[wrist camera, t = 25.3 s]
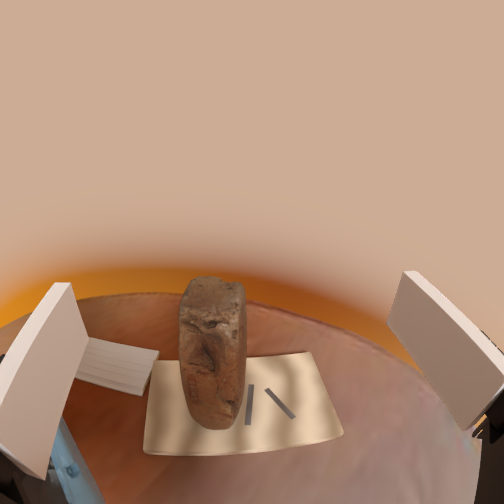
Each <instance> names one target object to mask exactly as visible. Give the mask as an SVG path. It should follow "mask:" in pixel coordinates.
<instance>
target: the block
mask: <svg viewBox="0 0 504 504" xmlns="http://www.w3.org/2000/svg"><path fill="white" fill-rule="evenodd" d="M178 319H179V332H180V333H179V347H178V350H179V364H180V374H181V381H182V387H183V391H184V395H185V400H186V403H187V407H188V410H189V413H190V415H191V417H192V418H193V419H194V420H195V421H196V422H197V423H199V424H200V425H201V426H202V427H204V428H206V429H211V430H225V429H229V428H230V427H231V426H232V425H233V423H234V421H235V419H236V417H237V416H238V413H239V410H240V407H241V404H242V400H243V394H244V387H245V374H246V356H247V314H246V299H245V290H244V287H243V286H242V284H241V283H239V282H232V283H228V282H223V281H222V279H220V278H217V277H211V276H207V277H206V276H205V277H197V278H195V279H193V280H191V281H190V283H189V284H188V286H187V289H186V290H185V292H184V294H183V296H182V299H181V302H180V306H179V314H178Z"/></svg>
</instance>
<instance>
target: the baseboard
mask: <svg viewBox="0 0 504 504" xmlns="http://www.w3.org/2000/svg"><path fill="white" fill-rule="evenodd" d="M159 355H160V352H159V351H156V350H150V349H145V348H139V347H134V346H129V345H123V344H119V343H114V342H109V341H105V340H100V339H96V338H92V337H89V341H88V344H87V346H86V348H85V351H84V353H83V356H82V358H81V361H80V364H79V366H78V369H77V372H76V374H75V377H74V378H77V379H80V380H83V381H86V382H89V383H92V384H95V385H99V386H102V387H106V388H109V389H113V390H117V391H121V392H124V393H129V394H133V395H137V396H141V397H142V396H143V394H144V391H145V389H146V386H147V384H148V382H149V379H150V377H151V374H152V367H153V360H158V358H159Z"/></svg>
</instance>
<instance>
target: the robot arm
mask: <svg viewBox="0 0 504 504" xmlns="http://www.w3.org/2000/svg"><path fill="white" fill-rule="evenodd" d="M386 324H387V325H388V327H389V328H390V329H391V330H392V332H393V333H394V334H395V336H396V337H397V338H398V340H399V341H400V342H401V344H402V345H403V346H404V348H405V349H406V350H407V352H408V353H409V355H410V356H411V357H412V359H413V360H414V361H415V363H416V364H417V365H418V367H419V368H420V370H421V371H422V372H423V374H424V375H425V377H426V378H427V379H428V381H429V382H430V384H431V385H432V387H433V388H434V389H435V391H436V392H437V394H438V395H439V397H440V398H441V400H442V401H443V403H444V404H445V406H446V407H447V409H448V410H449V412H450V413H451V415H452V416H453V418H454V419H455V421H456V422H457V424H458V425H459V427H460V428H461V430H462V432H464V431H465V430H467V429H469V428H470V427H472V426H473V425H475V424H476V423H477V422H478V421H479V419H480V418H481V417H482V416H483V415H484V414H486V416H487V418H486V419H485V420H484V421H483V422H482V423H481V424H480V425H479V426H478V427H477V428H476V429H475V431H474V432H473V434H472V437H473V438H474V437H475V436H476V435H477V434H478V433H479V432H480V431H481V430H482V429H483V431H482V432H481V433H480V434H479V435H478V437H477V438H479V439H482V450H481V461H480V470H479V478H478V485H477V491H476V496H475V501H474V504H504V354H503V353H502V351H501V350H500V349H499V348H496V345H495V344H494V343H493V342H492V341H490V339H489V338H488V337H487V336H486V334H484V332H483V331H481V330H479V329H478V328H477V327H476V326H475V325H474V324H473V323H472V322H471V321H470V320H469V319H468V318H467V317H466V316H465V315H464V314H463V313H462V312H461V311H460V310H459V309H458V308H457V307H455V305H453V304H452V303H451V302H450V301H449V300H448V299H447V298H446V297H445V296H444V295H443V294H442V293H441V292H439V291H438V290H437V289H436V288H435V287H434V286H433V285H432V284H430V283H429V282H428V281H427V280H426V279H425V278H424V277H422V276H421V275H420V274H419V273H418V272H417V271H405V272H403V274H402V277H401V280H400V283H399V287H398V290H397V293H396V296H395V299H394V302H393V305H392V308H391V311H390V314H389V317H388V320H387V322H386ZM88 341H89V337H88V335H87V332H86V329H85V326H84V323H83V321H82V318H81V315H80V312H79V308H78V305H77V302H76V299H75V296H74V292H73V289H72V285H71V283H56V282H55V283H54V284H53V286H52V287H51V288H50V289H49V291H48V292H47V293H46V295H45V296H44V298H43V299H42V301H41V302H40V303H39V304H38V306H37V307H36V309H35V310H34V312H33V313H32V314H31V316H30V317H29V319H28V320H27V322H26V323H25V325H24V326H23V328H22V329H21V331H20V332H19V334H18V336H17V337H16V339H15V340H14V342H13V344H12V345H11V347H10V348H9V350H8V352H7V354H6V355H5V354H2V355H1V356H0V504H105V500H104V498H103V495H102V493H101V491H100V489H99V487H98V486H97V484H96V482H95V480H94V478H93V476H92V474H91V472H90V470H89V468H88V466H87V464H86V463H85V461H84V459H83V457H82V455H81V453H80V451H79V449H78V447H77V445H76V443H75V441H74V439H73V437H72V435H71V433H70V431H69V429H68V427H67V425H66V423H65V421H64V419H63V416H62V412H63V409H64V406H65V403H66V400H67V397H68V394H69V391H70V388H71V385H72V382H73V380H74V377H75V374H76V372H77V369H78V366H79V364H80V361H81V358H82V356H83V353H84V351H85V348H86V346H87V344H88Z"/></svg>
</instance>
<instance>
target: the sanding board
mask: <svg viewBox="0 0 504 504" xmlns="http://www.w3.org/2000/svg"><path fill="white" fill-rule="evenodd" d="M343 434H344V431H343V429H342V426H341V424H340V422H339V419H338V417H337V414H336V412H335V409H334V407H333V405H332V402H331V400H330V398H329V395H328V393H327V390H326V388H325V386H324V383H323V381H322V378H321V376H320V374H319V371H318V369H317V367H316V364H315V362H314V360H313V357H312V355H311V353H310V352H306V353H298V354H289V355H279V356H268V357H256V358H246V374H245V387H244V394H243V400H242V404H241V407H240V410H239V413H238V416H237V417H236V419H235V421H234V423H233V425H232V426H231V427H230V428H229V429H225V430H211V429H206V428H204V427H202V426H201V425H200V424H199V423H197V422H196V421H195V420H194V419H193V418H192V417H191V415H190V413H189V410H188V407H187V403H186V400H185V395H184V391H183V387H182V381H181V374H180V364H179V361H166V360H153V367H152V374H151V381H150V388H149V396H148V404H147V413H146V422H145V432H144V443H143V451H144V452H145V454H152V455H171V456H214V455H233V454H246V453H256V452H265V451H273V450H280V449H286V448H292V447H298V446H304V445H309V444H314V443H319V442H323V441H328V440H332V439H336V438H340V437H342V435H343Z"/></svg>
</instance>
